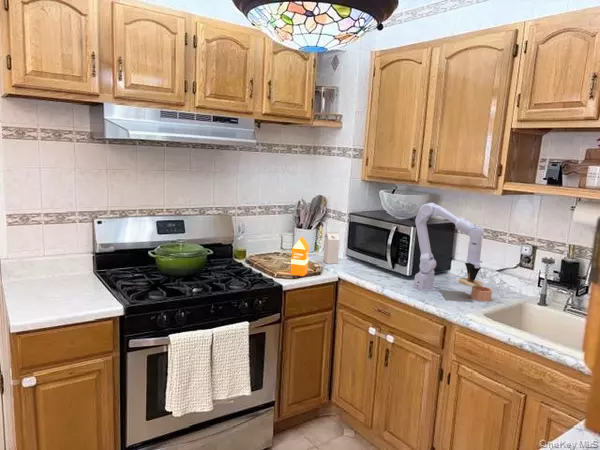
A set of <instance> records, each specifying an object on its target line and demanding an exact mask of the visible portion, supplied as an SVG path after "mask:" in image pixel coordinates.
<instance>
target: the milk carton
mask: <svg viewBox="0 0 600 450" xmlns="http://www.w3.org/2000/svg"><path fill="white" fill-rule="evenodd" d="M340 240H341V239H340V236H339V232H338V231H327V232H326V234H325V236H324V247H323V262H324V263H326V264H329V265H330V264H331V265H333V264H334V265H336V264H337V265H338V264H339V255H340V254H339V253H340V252H339V251H340Z"/></svg>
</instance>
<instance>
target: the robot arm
mask: <svg viewBox="0 0 600 450" xmlns="http://www.w3.org/2000/svg"><path fill="white" fill-rule="evenodd" d="M432 216H434V217H442V218H444V219H445V220H447V221H449V222H450V223H452V224H454V225H455V229H458V230H459V231H461V232H463V233H464V234H466V235H467V236H469V240H468V247H467V248H468V249H467V257H466V262H465V263H464V265H465V267H466V273H467V274H466V275H467V276H468V273H470V280H476V278H477V275H478V274H479V272H480V270H481V264H482V263H483V261H482V260H481V252H482V245H483V244H482V243H483V242H482V241H483V236H484V234H485V233H484V232H485V231H484V229H483V228H482V227H481V226H479V225H477V224H476V223H472V222H470V221H469V220H468V218H466V217H457V216H456V215H454V214H453V213H451V212H450V211H448V210H446V209H445V208H444V207H442V206H441V205H438V204H436V203H434V202H428V203H423V204H422V205H421V206H420V207H419V208H418V211H417V214H416V217H415V219H414V220H415V221H414V222H415V227H416V233H417V238H418V239H417V240H418V245H419V250H420V251H419V252H420V258H419V261H420V263H419V266H418V267H419V271H418V272H417V273H415V275H414V281H413V286H412V288H414V289H417V290H419V291H421V292H429V291H436V290H437V288H436V287H434V280H435V273H436V272H435V268H436V267H437V260H436V259H435V258H434V254H433V252H432V248H431V243H430V238H429V231H428V226H427V221H428V220H429V219H430V218H431V217H432Z"/></svg>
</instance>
